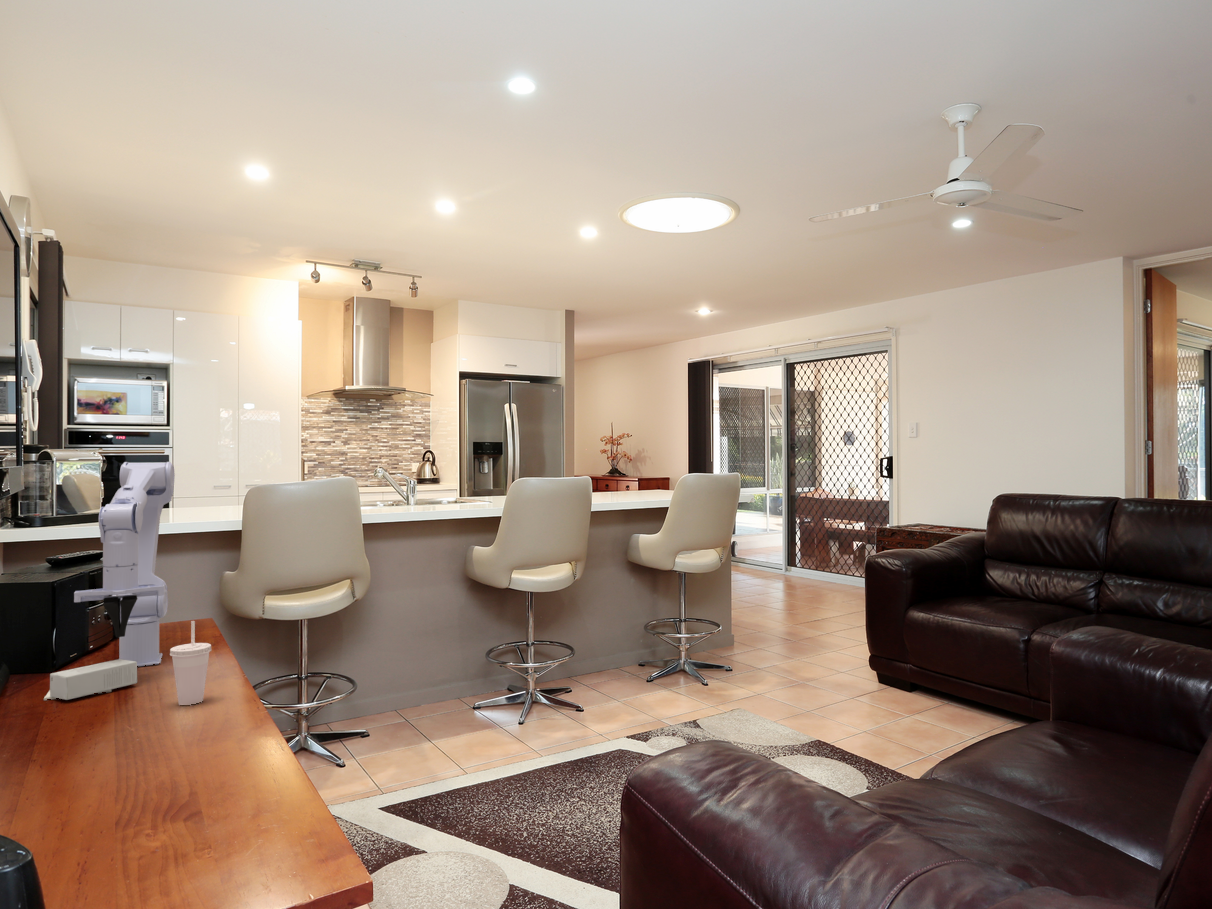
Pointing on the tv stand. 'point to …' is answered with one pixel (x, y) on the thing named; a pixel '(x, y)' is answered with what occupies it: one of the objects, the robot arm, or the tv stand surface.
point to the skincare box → (93, 679)
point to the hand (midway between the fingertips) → (120, 636)
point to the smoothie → (190, 669)
